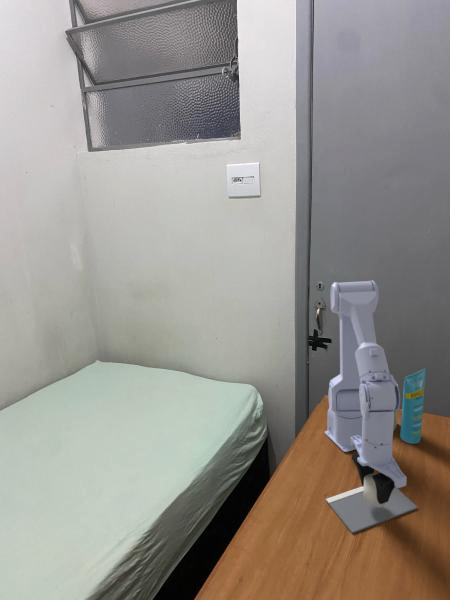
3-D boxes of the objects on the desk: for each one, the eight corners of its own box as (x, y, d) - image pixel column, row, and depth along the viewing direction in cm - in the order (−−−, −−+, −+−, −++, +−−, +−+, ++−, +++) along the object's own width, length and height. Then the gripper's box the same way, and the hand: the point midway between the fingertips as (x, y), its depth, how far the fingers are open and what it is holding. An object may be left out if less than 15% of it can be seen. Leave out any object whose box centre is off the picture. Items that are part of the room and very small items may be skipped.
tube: (410, 448, 103) (415, 380, 98) (393, 439, 107) (397, 373, 102) (427, 437, 107) (432, 370, 102) (410, 429, 111) (414, 364, 106)
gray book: (325, 500, 89) (325, 498, 88) (385, 479, 93) (385, 477, 93) (352, 533, 80) (352, 531, 80) (417, 508, 85) (417, 506, 85)
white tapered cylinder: (358, 495, 86) (359, 477, 85) (376, 488, 87) (376, 471, 86) (372, 509, 82) (373, 491, 81) (390, 503, 83) (391, 484, 82)
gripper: (338, 422, 86) (337, 476, 90) (385, 464, 73) (382, 525, 77) (366, 414, 88) (364, 467, 92) (417, 453, 75) (412, 513, 79)
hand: (374, 493), depth 84 cm, fingers closed on white tapered cylinder, 4 cm apart
